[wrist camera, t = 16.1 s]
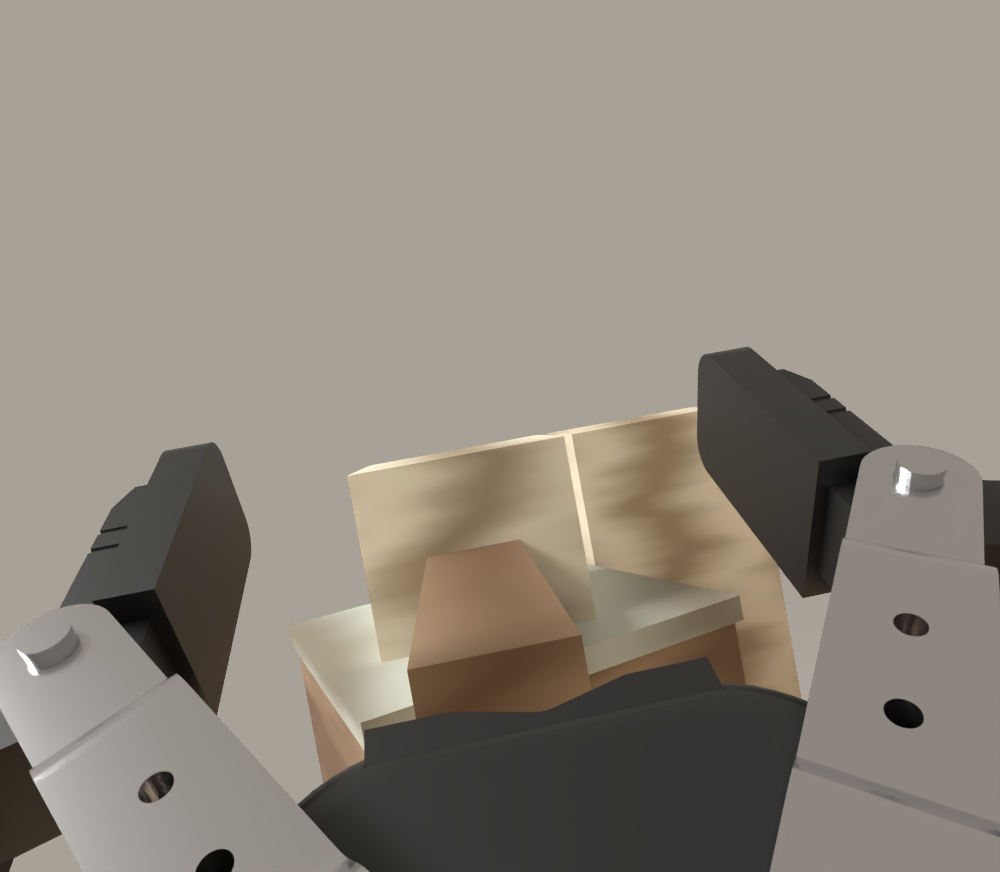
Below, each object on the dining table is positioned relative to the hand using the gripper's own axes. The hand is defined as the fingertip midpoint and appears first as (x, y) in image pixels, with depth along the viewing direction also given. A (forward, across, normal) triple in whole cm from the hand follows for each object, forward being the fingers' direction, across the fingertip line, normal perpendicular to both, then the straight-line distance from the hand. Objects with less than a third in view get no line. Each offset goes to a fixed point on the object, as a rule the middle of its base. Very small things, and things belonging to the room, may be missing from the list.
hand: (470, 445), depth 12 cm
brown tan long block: (+5, 0, +10) cm, 11 cm away
